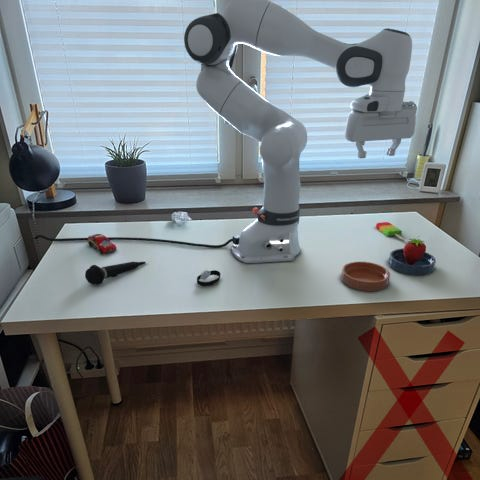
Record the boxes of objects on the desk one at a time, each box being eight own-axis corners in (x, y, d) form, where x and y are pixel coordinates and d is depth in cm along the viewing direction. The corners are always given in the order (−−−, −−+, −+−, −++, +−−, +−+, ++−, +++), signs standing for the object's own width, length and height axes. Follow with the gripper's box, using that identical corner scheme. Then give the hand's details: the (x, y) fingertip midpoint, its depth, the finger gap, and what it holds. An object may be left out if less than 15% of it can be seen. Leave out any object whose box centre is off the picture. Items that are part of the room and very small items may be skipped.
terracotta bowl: (356, 294, 121) (358, 285, 119) (332, 274, 132) (334, 265, 130) (397, 287, 125) (399, 278, 123) (371, 268, 135) (372, 259, 134)
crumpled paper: (192, 214, 163) (174, 215, 161) (191, 225, 165) (174, 226, 163) (186, 207, 169) (169, 208, 167) (186, 218, 171) (169, 219, 169)
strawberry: (426, 265, 136) (434, 235, 131) (411, 272, 132) (419, 240, 127) (409, 259, 140) (416, 229, 135) (395, 265, 136) (401, 234, 131)
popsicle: (387, 226, 165) (388, 221, 164) (410, 241, 153) (411, 236, 152) (374, 227, 164) (375, 222, 163) (396, 243, 152) (397, 238, 151)
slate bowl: (405, 278, 130) (408, 269, 128) (379, 260, 140) (381, 251, 138) (442, 272, 133) (445, 263, 132) (414, 254, 144) (416, 246, 142)
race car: (119, 253, 143) (117, 241, 141) (103, 257, 140) (101, 245, 138) (101, 240, 152) (100, 229, 150) (86, 244, 149) (84, 232, 147)
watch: (214, 275, 130) (214, 264, 128) (224, 281, 127) (224, 270, 125) (193, 283, 126) (192, 272, 124) (203, 289, 123) (202, 278, 121)
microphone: (141, 271, 138) (84, 287, 125) (137, 253, 137) (79, 267, 123) (152, 271, 135) (94, 287, 121) (148, 252, 133) (89, 266, 119)
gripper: (410, 99, 122) (400, 151, 130) (345, 102, 117) (338, 156, 124) (425, 102, 117) (414, 156, 125) (358, 105, 112) (350, 161, 119)
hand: (376, 156), depth 124 cm, fingers open, 8 cm apart
